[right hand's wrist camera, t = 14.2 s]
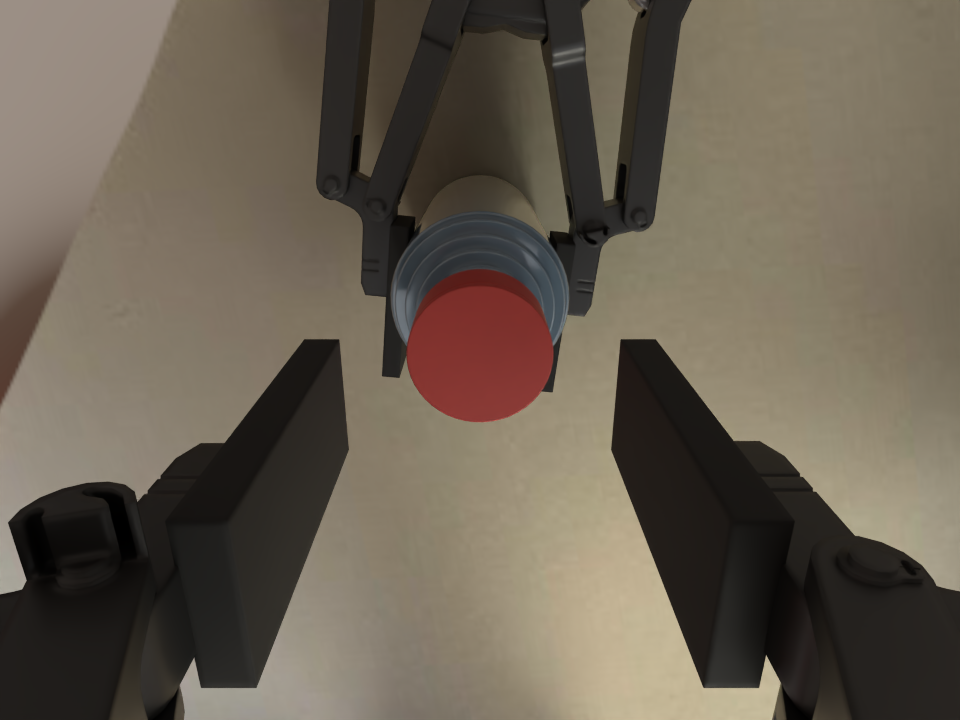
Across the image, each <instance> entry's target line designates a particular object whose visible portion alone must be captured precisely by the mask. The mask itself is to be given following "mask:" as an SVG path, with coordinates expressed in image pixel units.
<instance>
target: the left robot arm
mask: <svg viewBox="0 0 960 720" xmlns="http://www.w3.org/2000/svg"><path fill="white" fill-rule="evenodd" d="M589 1H590V0H432V2H431V5H430V8H429V11H428V14H427V17H426V19H425V22H424V25H423V29H422V32H421V37H420V41H419V44H418V47H417V50H416V52H415V55H414V58H413V61H412V64H411V66H410V69H409V72H408V75H407V78H406V80H405V83H404V86H403V89H402V92H401V95H400V97H399V100H398V103H397V106H396V109H395V111H394V114H393V117H392V120H391V123H390V125H389V128H388V131H387V134H386V137H385V139H384V142H383V145H382V148H381V151H380V153H379V156H378V159H377V162H376V165H375V167H374V170H373V173H372V176H371V177H368V176H366V175H364V174H362V173H360V172H359V167H360V157H361V146H362V136H363V126H364V115H365V105H366V95H367V84H368V74H369V64H370V53H371V43H372V33H373V22H374V10H375V0H330V1H329V15H328V28H327V42H326V55H325V69H324V83H323V96H322V110H321V124H320V137H319V151H318V164H317V178H316V184H317V189H318V191H319V193H320V194H321V195H322V196H323V197H324V198H327V199H329V200H336V201H338V202H340V203H343V204H345V205H347V206H349V207H351V208H352V209H354V210H355V211H356V212H357V213H358V214H359V215H360V217H361V219H362V222H363V243H362V271H361V284H362V287H363V290H364V292H365V295H371V296H381V297H386V311H385V331H384V350H383V369H382V376H386V377H396V378H400V374H401V371H402V368H403V364H404V361H405V358H406V351H407V346H406V345H405V343H404V341H403V340H402V338H401V337H400V334H399V332H398V330H397V328H396V325H395V322H394V318H393V314H392V308H391V286H392V280H393V276H394V272H395V269H396V267H397V264H398V262H399V260H400V258H401V256H402V254H403V252H404V250H405V249H406V247H407V245H408V243H409V241H410V239H411V238H412V236H413V234H414V230H415V217H412V216H402V215H398V216H397V213H398V205H399V204H400V200H401V197H402V194H403V192H404V189H405V186H406V184H407V181H408V178H409V176H410V173H411V171H412V168H413V165H414V163H415V160H416V157H417V155H418V152H419V149H420V147H421V144H422V141H423V139H424V136H425V133H426V131H427V128H428V126H429V123H430V120H431V118H432V115H433V112H434V110H435V107H436V104H437V102H438V99H439V96H440V94H441V91H442V88H443V86H444V83H445V81H446V78H447V75H448V73H449V70H450V67H451V65H452V62H453V60H454V57H455V55H456V53H457V51H458V48H459V46H460V43H461V40H462V38H463V35H464V32H472V33H480V34H484V33H490V32H496V31H501V30H504V31H507V32H509V33H512V34H514V35H516V36H519V37H521V38H524V39H532V40H540V42H541V49H542V55H543V61H544V65H545V68H546V73H547V80H548V86H549V93H550V99H551V106H552V112H553V119H554V126H555V132H556V139H557V145H558V152H559V158H560V165H561V172H562V178H563V185H564V191H565V198H566V205H567V211H568V218H569V223H570V227H569V233H565V232H556V231H550V237H549V239H550V241H551V243H552V245H553V247H554V249H555V251H556V252H557V254H558V256H559V258H560V260H561V262H562V264H563V267H564V270H565V273H566V276H567V281H568V286H569V308H568V314H567V315H575V316H585V315H586V313H587V311H588V310H589V308H590V306H591V302H592V297H593V291H594V285H595V279H596V274H597V268H598V262H599V256H600V251H601V248H602V246H603V244H604V243H605V242H606V241H607V240H608V239H609V238H610V237H612V236H615V235H618V234H622V233H626V232H630V231H635V232H641V231H644V230H646V229H648V228H649V227H650V226H651V224H652V223H653V220H654V216H655V209H656V202H657V194H658V187H659V180H660V172H661V165H662V158H663V150H664V143H665V136H666V128H667V121H668V114H669V106H670V99H671V92H672V84H673V77H674V70H675V62H676V55H677V48H678V40H679V33H680V26H681V22H682V19H683V17H684V15H685V13H686V11H687V9H688V7H689V4H690V2H691V0H628V2H629V4H630V6H631V7H632V8H633V9H634V10H636V11H637V12H638V15H637V17H636V21H635V25H634V28H633V33H632V39H631V46H630V55H629V64H628V73H627V82H626V91H625V100H624V108H623V117H622V126H621V135H620V144H619V153H618V162H617V171H616V180H615V189H614V198H613V199H612V200H608V201H604V200H603V192H602V184H601V177H600V169H599V161H598V154H597V146H596V139H595V131H594V123H593V116H592V108H591V100H590V93H589V85H588V77H587V70H586V62H585V52H586V47H585V37H584V29H583V21H582V13H581V10H582V9H583V8H584V7H585V5H586V4H587V3H588V2H589ZM561 336H562V332H561V334H560V336H559V338H558V340H557V342H556V343H555V344H554V346H553V364H552V369H551V373H550V375H549V378H548V380H547V382H546V384H545V386H544V388H543V389H542V391H544V392H553V386H554V380H555V374H556V367H557V361H558V355H559V349H560V342H561Z"/></svg>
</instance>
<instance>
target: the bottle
mask: <svg viewBox="0 0 960 720" xmlns="http://www.w3.org/2000/svg"><path fill="white" fill-rule="evenodd" d="M473 269H488V270H494V271H498V272H501V273H505V274H507V275H509V276H511V277H513V278H515V279H517V280H518V281H520V282H521V283H522V284H524V285H525V286H526V287H527V288H528V289H529V290H530V291H531V292H532V293H533V294H534V296H535V297H536V299H537V300H538V302H539V304H540V305H541V307H542V310H543V313H544V315H545V318H546V322H547V325H548V328H549V331H550V334H551V338H552V343H553V346H554V344H555V343H556V342H557V340H558V338H559V336H560V334H561V332H562V330H563V327H564V325H565V322H566V318H567V314H568V308H569V286H568V281H567V276H566V273H565V270H564V267H563V264H562V262H561V260H560V258H559V256H558V254H557V252H556V251H555V249H554V247H553V245H552V243H551V241H550V239H549V238H548V236H547V234H546V232H545V230H544V228H543V227H542V225H541V223H540V221H539V219H538V217H537V215H536V214H535V212H534V210H533V208H532V206H531V204H530V203H529V201H528V200H527V198H526V197H525V196H524V195H523V194H522V193H521V191H519V190H518V189H517V188H516V187H515V186H513V185H512V184H510V183H509V182H507V181H504V180H502V179H500V178H496V177H493V176H487V175H473V176H467V177H463V178H460V179H458V180H455V181H453V182H452V183H450V184H448V185H447V186H445V187H444V188H443V189H442V190H441V191H440V192H439V193H438V194H437V195H436V196H435V197H434V198H433V200H432V201H431V203H430V205H429V206H428V208H427V210H426V212H425V214H424V215H423V217H422V219H421V221H420V223H419V225H418V226H417V228H416V230H415V232H414V234H413V236H412V238H411V239H410V241H409V243H408V245H407V247H406V249H405V250H404V252H403V254H402V256H401V258H400V260H399V262H398V264H397V267H396V269H395V272H394V276H393V280H392V286H391V308H392V314H393V318H394V322H395V325H396V328H397V330H398V332H399V334H400V337H401V338H402V340H403V341H404V343H405V345H406V346H407V342H408V338H409V334H410V331H411V328H412V324H413V321H414V318H415V315H416V312H417V310H418V307H419V305H420V303H421V302H422V300H423V298H424V297H425V296H426V294H427V293H428V292H429V291H430V290H431V289H432V288H433V287H434V286H435V285H436V284H437V283H439V282H440V281H442V280H443V279H445V278H447V277H449V276H451V275H453V274H456V273H458V272H462V271H466V270H473Z"/></svg>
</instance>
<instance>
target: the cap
mask: <svg viewBox="0 0 960 720" xmlns="http://www.w3.org/2000/svg"><path fill="white" fill-rule="evenodd" d="M407 364H408V369H409V373H410V376H411V378H412V380H413V383H414V385H415V386H416V388H417V389H418V391H419V393H420V394H421V395H422V396H423V397H424V399H425V400H427V401H428V402H429V403H430V404H431V405H432V406H433V407H435V408H436V409H438V410H439V411H441V412H443V413H444V414H446V415H448V416H451V417H453V418H456V419H460V420H464V421H470V422H490V421H496V420H500V419H503V418H506V417H509V416H511V415H513V414H516V413H518V412H519V411H521V410H522V409H524V408H525V407H527V406H528V405H529V404H530V403H531V402H532V401H533V400H534V399H535V398H536V397H537V396H538V395H539V394H540V392H541V391H542V389H543V388H544V386H545V384H546V382H547V380H548V378H549V375H550V373H551V369H552V364H553V343H552V338H551V334H550V331H549V328H548V325H547V322H546V318H545V315H544V313H543V310H542V307H541V305H540V304H539V302H538V300H537V299H536V297H535V296H534V294H533V293H532V292H531V291H530V290H529V289H528V288H527V287H526V286H525V285H524V284H522V283H521V282H520V281H518V280H517V279H515V278H513V277H511V276H509V275H507V274H505V273H501V272H498V271H494V270H488V269H473V270H466V271H462V272H458V273H456V274H453V275H451V276H449V277H447V278H445V279H443V280H442V281H440V282H439V283H437V284H436V285H435V286H434V287H433V288H432V289H431V290H430V291H429V292H428V293H427V294H426V296H425V297H424V298H423V300H422V302H421V303H420V305H419V307H418V310H417V312H416V315H415V318H414V321H413V324H412V328H411V331H410V334H409V338H408V342H407Z"/></svg>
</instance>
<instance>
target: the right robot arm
mask: <svg viewBox="0 0 960 720" xmlns="http://www.w3.org/2000/svg"><path fill="white" fill-rule="evenodd" d="M348 450H349V447H348V435H347V424H346V412H345V400H344V389H343V377H342V365H341V354H340V342H339V339H304V341H303V342H302V343H301V345H300V346H299V347H298V348H297V350H296V351H295V352H294V354H293V355H292V356H291V358H290V359H289V360H288V361H287V363H286V364H285V365H284V367H283V368H282V369H281V371H280V372H279V373H278V374H277V376H276V377H275V378H274V380H273V381H272V382H271V384H270V385H269V386H268V387H267V389H266V390H265V391H264V393H263V394H262V395H261V397H260V398H259V399H258V401H257V402H256V403H255V404H254V406H253V407H252V408H251V410H250V411H249V412H248V414H247V415H246V416H245V417H244V419H243V420H242V421H241V423H240V424H239V425H238V427H237V428H236V429H235V430H234V432H233V433H232V434H231V436H230V437H229V438H228V440H227V441H226V442H225V443H200V444H199V445H197V446H195V447H194V448H192V449H190V450H189V451H187V452H185V453H184V454H182V455H181V456H179V457H177V458H176V459H175V460H174V461H173V462H172V463H171V464H170V466H169V467H168V468H167V469H166V470H165V471H164V472H163V474H162V475H161V478H160V479H157V480H156V482H155V483H154V484H153V485H152V486H151V487H150V488H149V490H148V494H144V495H143V496H142V498H141V499H140V500H139V501H138V502H137V499H136V495H135V492H134V491H133V490H132V489H130V488H129V487H128V486H126V485H124V484H118V483H113V482H95V483H85V484H80V485H76V486H72V487H67V488H63V489H61V490H58V491H55V492H53V493H50V494H48V495H45V496H43V497H40V498H39V499H37V500H35V501H34V502H32V503H30V504H29V505H27V506H25V507H24V508H22V509H20V511H19V512H18V513H17V514H16V515H15V516H14V517H13V518H12V519H11V520H10V521H9V522H8V524H9V527H10V530H11V533H12V536H13V540H14V543H15V546H16V549H17V552H18V555H19V558H20V561H21V564H22V567H23V570H24V573H25V576H26V580H27V581H26V583H25V585H24V587H23V589H22V590H18V591H15V592H10V593H5V594H0V720H184V713H185V711H184V704H183V697H182V693H181V689H180V683H181V681H182V680H183V678H184V676H185V674H186V672H187V670H188V668H189V666H190V664H191V662H192V660H193V659H194V657H195V662H196V667H197V671H198V676H199V681H200V685H201V688H257V685H258V682H259V680H260V677H261V675H262V672H263V670H264V667H265V664H266V662H267V659H268V657H269V654H270V652H271V649H272V646H273V644H274V641H275V639H276V636H277V633H278V631H279V628H280V626H281V623H282V621H283V618H284V615H285V613H286V610H287V608H288V605H289V603H290V600H291V597H292V595H293V592H294V590H295V587H296V584H297V582H298V579H299V577H300V574H301V572H302V569H303V566H304V564H305V561H306V559H307V556H308V553H309V551H310V548H311V546H312V543H313V541H314V538H315V535H316V533H317V530H318V528H319V525H320V523H321V520H322V517H323V515H324V512H325V510H326V507H327V504H328V502H329V499H330V497H331V494H332V492H333V489H334V486H335V484H336V481H337V479H338V476H339V473H340V471H341V468H342V466H343V463H344V461H345V458H346V455H347V453H348ZM611 450H612V453H613V455H614V458H615V461H616V463H617V466H618V468H619V471H620V473H621V476H622V479H623V481H624V484H625V486H626V489H627V492H628V494H629V497H630V499H631V502H632V504H633V507H634V510H635V512H636V515H637V517H638V520H639V523H640V525H641V528H642V530H643V533H644V535H645V538H646V541H647V543H648V546H649V548H650V551H651V553H652V556H653V559H654V561H655V564H656V566H657V569H658V572H659V574H660V577H661V579H662V582H663V584H664V587H665V590H666V592H667V595H668V597H669V600H670V603H671V605H672V608H673V610H674V613H675V615H676V618H677V621H678V623H679V626H680V628H681V631H682V633H683V636H684V639H685V641H686V644H687V646H688V649H689V652H690V654H691V657H692V659H693V662H694V664H695V667H696V670H697V672H698V675H699V677H700V680H701V682H702V685H703V688H759V685H760V681H761V676H762V671H763V667H764V662H765V657H766V655H767V657H768V659H769V661H770V663H771V665H772V667H773V669H774V670H775V672H776V674H777V676H778V678H779V680H780V682H781V684H780V689H779V693H778V697H777V701H776V706H775V710H774V714H773V719H772V720H960V592H959V591H955V590H950V589H945V588H941V587H938V586H936V584H935V582H934V580H933V579H932V577H931V576H930V575H929V574H928V572H927V571H926V570H925V569H924V567H923V566H922V565H921V564H919V563H918V562H916V561H915V560H914V559H912V558H911V557H909V556H908V555H907V554H905V553H904V552H902V551H900V550H897V549H895V548H893V547H891V546H889V545H886V544H884V543H882V542H879V541H875V540H871V539H867V538H863V537H860V536H855V535H854V534H853V533H852V532H851V531H850V530H849V529H848V528H847V526H846V525H845V524H844V523H843V522H842V521H841V520H840V518H839V517H838V516H837V515H836V514H835V513H834V512H833V511H832V509H831V508H830V507H829V506H828V505H827V504H826V503H825V501H824V500H823V499H822V498H821V497H820V496H819V495H818V494H817V492H813V488H812V487H811V486H810V484H809V483H808V482H807V481H806V480H805V479H804V478H803V477H800V473H799V472H798V471H797V470H796V469H795V467H794V466H793V465H792V464H791V463H790V462H789V461H788V460H787V458H786V457H785V456H783V455H782V454H780V453H778V452H777V451H775V450H773V449H772V448H770V447H768V446H767V445H765V444H763V443H762V442H760V441H733V440H732V438H731V437H730V436H729V434H728V433H727V432H726V430H725V429H724V428H723V427H722V425H721V424H720V423H719V421H718V420H717V419H716V417H715V416H714V415H713V414H712V412H711V411H710V410H709V408H708V407H707V406H706V404H705V403H704V402H703V401H702V399H701V398H700V397H699V395H698V394H697V393H696V391H695V390H694V389H693V387H692V386H691V385H690V384H689V382H688V381H687V380H686V378H685V377H684V376H683V374H682V373H681V372H680V371H679V369H678V368H677V367H676V365H675V364H674V363H673V361H672V360H671V359H670V358H669V356H668V355H667V354H666V352H665V351H664V350H663V348H662V347H661V346H660V345H659V343H658V342H657V341H656V339H621V342H620V354H619V365H618V377H617V389H616V400H615V412H614V424H613V435H612V447H611Z"/></svg>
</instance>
